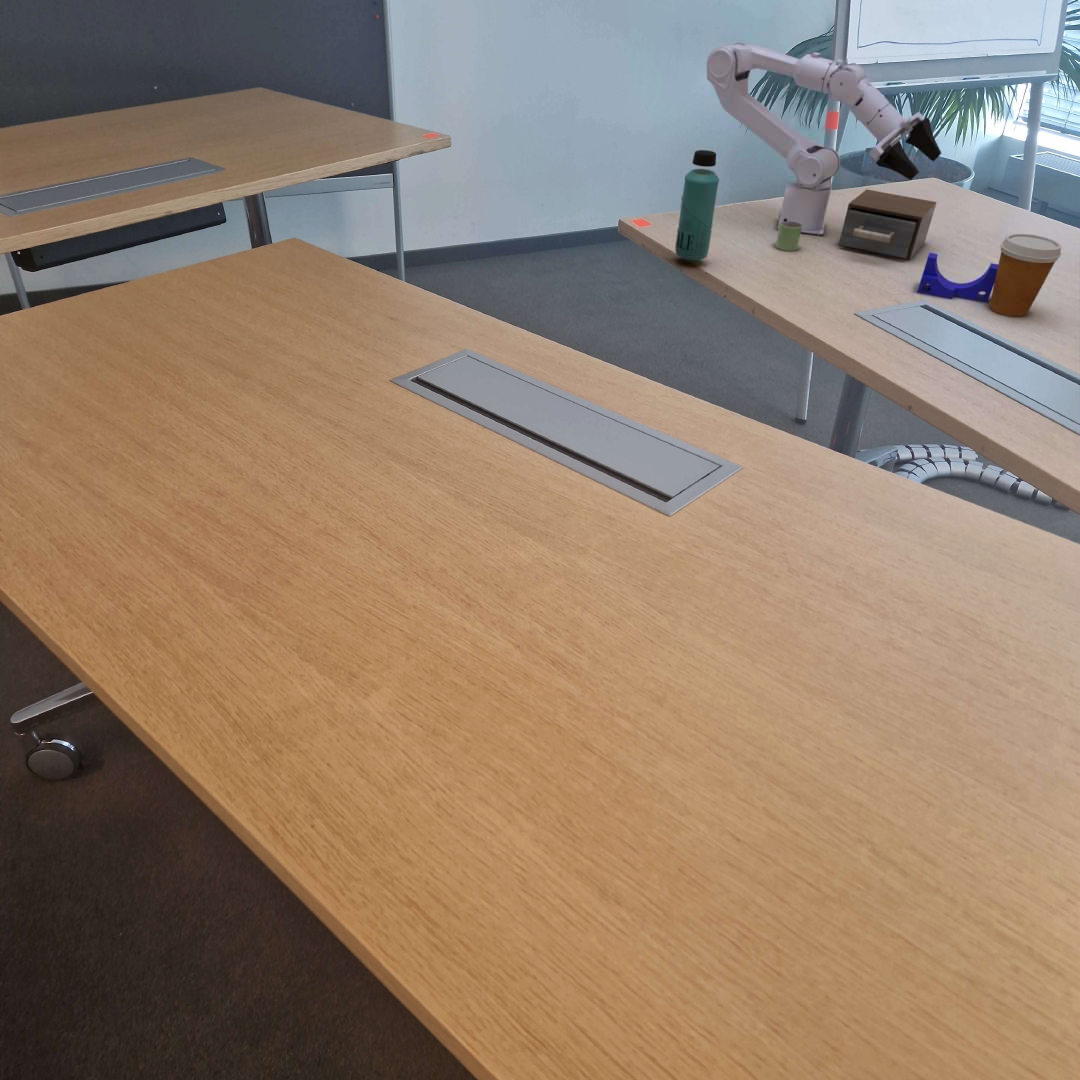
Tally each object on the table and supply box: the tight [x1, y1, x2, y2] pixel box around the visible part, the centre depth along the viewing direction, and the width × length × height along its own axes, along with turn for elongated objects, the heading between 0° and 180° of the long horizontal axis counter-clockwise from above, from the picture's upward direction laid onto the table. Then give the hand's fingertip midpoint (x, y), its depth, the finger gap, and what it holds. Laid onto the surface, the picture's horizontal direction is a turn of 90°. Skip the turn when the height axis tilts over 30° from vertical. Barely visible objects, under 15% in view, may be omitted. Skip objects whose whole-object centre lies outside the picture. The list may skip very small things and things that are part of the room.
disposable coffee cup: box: [988, 233, 1062, 317], centre depth 152 cm, size 10×10×12 cm
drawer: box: [839, 208, 918, 259], centre depth 176 cm, size 17×13×7 cm
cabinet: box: [838, 189, 937, 261], centre depth 180 cm, size 13×14×8 cm
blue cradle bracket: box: [916, 252, 999, 303], centre depth 159 cm, size 12×4×6 cm, turn 65°
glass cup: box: [775, 221, 802, 252], centre depth 177 cm, size 4×4×5 cm
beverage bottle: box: [674, 149, 720, 261], centre depth 163 cm, size 6×7×20 cm
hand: (926, 166), depth 170 cm, fingers open, 7 cm apart
